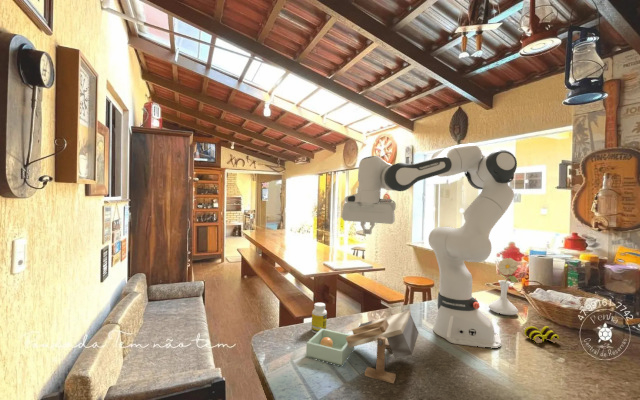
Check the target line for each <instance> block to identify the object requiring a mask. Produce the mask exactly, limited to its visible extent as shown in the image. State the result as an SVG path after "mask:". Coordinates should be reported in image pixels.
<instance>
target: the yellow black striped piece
mask: <svg viewBox="0 0 640 400" xmlns="http://www.w3.org/2000/svg"><path fill="white" fill-rule="evenodd" d="M523 332H524V335H526V336H528V337H529V338H531V339H533V340H534V341H535V338H536V337H537V336H538V337H539V338H540V339H542V341H543V342H544V341H545V339H550V340H552V339H553V337H555V338H557V339H559V340H560V337H559V335H558V334H556V333H555V332H554V330H551V329H550V327H549V326H547V325H545V326H544V327H542V328H541V330H540V329H539V328H537V326H532V325H531V326H528V327H526V328H525V329H524V331H523ZM526 336H525V337H526ZM529 338H528V339H529ZM531 339H530V340H531ZM534 341H533V342H534Z"/></svg>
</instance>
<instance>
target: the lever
mask: <svg viewBox="0 0 640 400" xmlns="http://www.w3.org/2000/svg"><path fill="white" fill-rule="evenodd" d="M394 314H395V315H392V316H391V315H389V316H385V317H382V318H379V319H375V320H370V321H367V322H363V323H361V324H359V326H358V327H354V328H352V329H351V331H352V333H353V334H349V335H350V336H347V337H346V340H347V345H348V347H349V348H350V347H354V348H355V347H358V346H362V345H364V344H369V343H373V342H377V338H378V336H381V337H386V340H387V341H388V343H389V345H390V347H391V349H390V350H391V352H392V354H393V357H394V359H398V358H403V357H407V356H412V355H413V353H414V352H413V351H414V349H415V346H416V343H417V340H418V336H419V330H418V328H417V326H416V323H415V321H414V319H413V316H412V313H411V311H410V310H405V311H403V312H399V313H394Z"/></svg>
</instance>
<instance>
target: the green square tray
mask: <svg viewBox="0 0 640 400" xmlns="http://www.w3.org/2000/svg"><path fill="white" fill-rule="evenodd" d="M350 335H351V334H348V333H345V332H340V331H335V330H330V329H327V328H326V329H321V330H320V331H319V332H317V333H314V335H313V336H312V337H311V338H310V339H309V340H308V341H307V342H306V349H305V350H306V352H305V353H306V354H305V357H306V358H308V359H311V358H312V359H311V360H314V359H317V360H316V361H318V360H320V361H319V362H322V361H324V362H323V363H326V362H328V363H327V364H329V363H332V364H331V365H333V364H335V365H334V366H337V365H339V366H338V367H340V366H342V365H343V366H344V364H346V362H345V361H347V360H348V359H349V357H350V355H351V354H352V353H353V352H352V351H354V350H355V346H354V347H350V348H349V347H348V345H347V340H346V337H347V336H350ZM324 337H329V338H330V339H331V340H332V342H333V346H332V348H331V347H327V346H323V345H320V342H321V340H322V339H323V338H324ZM351 352H352V353H351ZM347 358H348V359H347ZM343 366H342V367H343Z"/></svg>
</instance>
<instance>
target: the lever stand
mask: <svg viewBox="0 0 640 400" xmlns="http://www.w3.org/2000/svg"><path fill="white" fill-rule="evenodd" d="M395 314H396V313H393V312H392V313H391V315H390V316H392V315H395ZM376 344H377V345H376V364H375V365H376V367H375V368H374V367H369V366H367V367H366V369H365V371H364V376H365V377H369V378H372V379H376V380H379V381H384V382H387V383H391V384H395V380H396V378H397V377H396V375H397V374H396V373H392V372H389V371H385V368H386V367H385V361H386V348H387V349H390V350H391V347H390V345H389V343H388V340H387V338H386V337H381V336H378V338H377V341H376Z"/></svg>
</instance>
